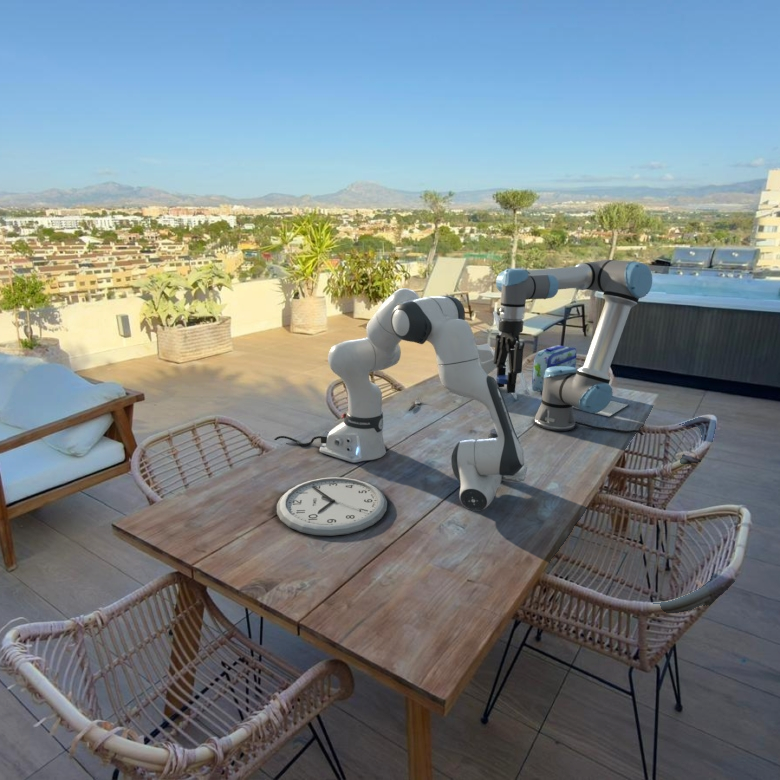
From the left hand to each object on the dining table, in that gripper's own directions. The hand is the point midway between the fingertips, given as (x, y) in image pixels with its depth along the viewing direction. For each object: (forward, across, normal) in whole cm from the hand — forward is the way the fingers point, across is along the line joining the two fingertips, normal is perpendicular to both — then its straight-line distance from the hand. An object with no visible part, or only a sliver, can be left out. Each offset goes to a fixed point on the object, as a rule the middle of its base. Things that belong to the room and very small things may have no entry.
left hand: (496, 456), depth 160 cm
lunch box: (+100, -7, +6) cm, 101 cm away
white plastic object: (+82, +24, +6) cm, 86 cm away
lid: (+17, +2, -20) cm, 27 cm away
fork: (+51, +44, +6) cm, 68 cm away
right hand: (+17, +2, -16) cm, 24 cm away
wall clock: (-37, +37, +6) cm, 52 cm away
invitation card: (+84, -29, +6) cm, 90 cm away
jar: (-1, 0, +6) cm, 6 cm away
